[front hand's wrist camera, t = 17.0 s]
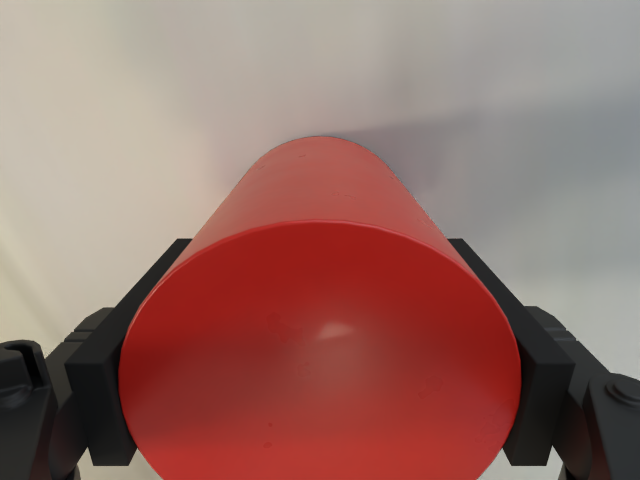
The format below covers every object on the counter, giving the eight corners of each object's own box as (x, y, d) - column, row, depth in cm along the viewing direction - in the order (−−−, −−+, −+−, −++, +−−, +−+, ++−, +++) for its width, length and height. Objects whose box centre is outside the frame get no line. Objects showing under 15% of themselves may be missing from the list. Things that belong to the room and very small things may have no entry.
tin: (195, 198, 18) (27, 355, 8) (352, 97, 17) (407, 123, 6) (293, 329, 21) (267, 579, 10) (438, 252, 19) (579, 457, 9)
